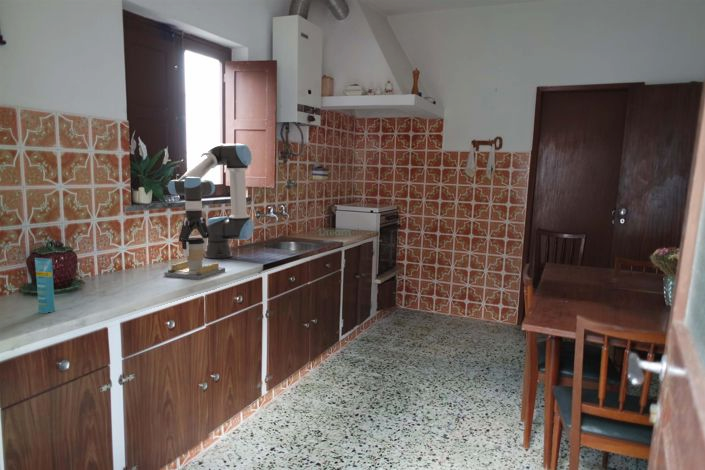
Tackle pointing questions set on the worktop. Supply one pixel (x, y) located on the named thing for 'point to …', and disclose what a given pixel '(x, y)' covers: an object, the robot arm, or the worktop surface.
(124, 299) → the worktop surface
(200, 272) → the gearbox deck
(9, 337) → the worktop surface
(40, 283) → the tube
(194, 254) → the coffee cup
